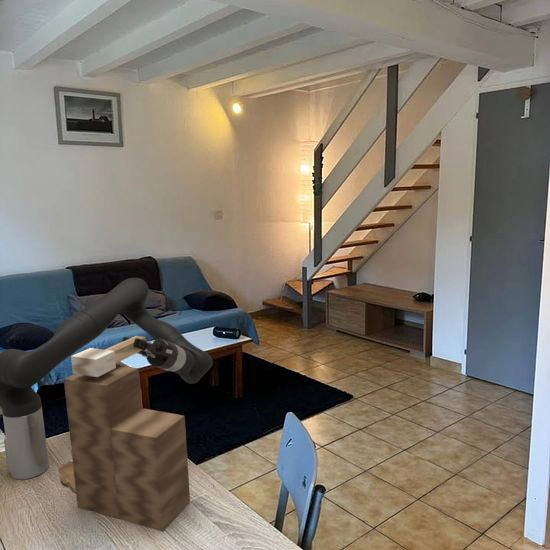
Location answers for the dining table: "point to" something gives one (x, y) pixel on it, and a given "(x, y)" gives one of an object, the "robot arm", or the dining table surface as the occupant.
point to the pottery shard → (68, 475)
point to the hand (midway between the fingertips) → (129, 341)
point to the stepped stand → (125, 450)
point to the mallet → (103, 358)
